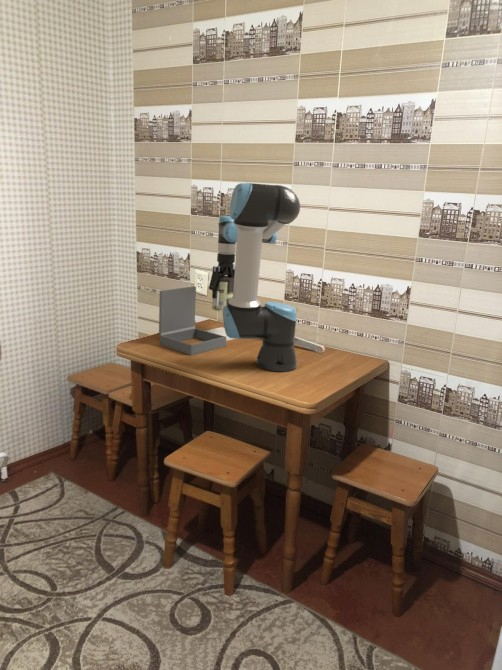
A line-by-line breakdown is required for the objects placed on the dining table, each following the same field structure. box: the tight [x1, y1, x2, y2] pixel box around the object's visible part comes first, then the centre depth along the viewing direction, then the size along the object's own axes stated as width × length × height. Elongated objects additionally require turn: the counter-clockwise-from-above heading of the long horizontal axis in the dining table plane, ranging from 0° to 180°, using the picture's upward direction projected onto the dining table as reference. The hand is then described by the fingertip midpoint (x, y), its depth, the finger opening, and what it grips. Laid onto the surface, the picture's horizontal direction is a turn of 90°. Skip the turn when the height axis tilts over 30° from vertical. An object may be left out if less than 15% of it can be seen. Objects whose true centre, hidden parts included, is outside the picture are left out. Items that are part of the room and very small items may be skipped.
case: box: [158, 285, 227, 356], centre depth 214 cm, size 19×20×22 cm
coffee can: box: [211, 275, 234, 313], centre depth 231 cm, size 10×10×14 cm
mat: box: [205, 326, 236, 342], centre depth 235 cm, size 16×16×1 cm
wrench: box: [294, 336, 326, 354], centre depth 224 cm, size 8×2×30 cm
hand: (223, 304), depth 232 cm, fingers closed on coffee can, 10 cm apart
